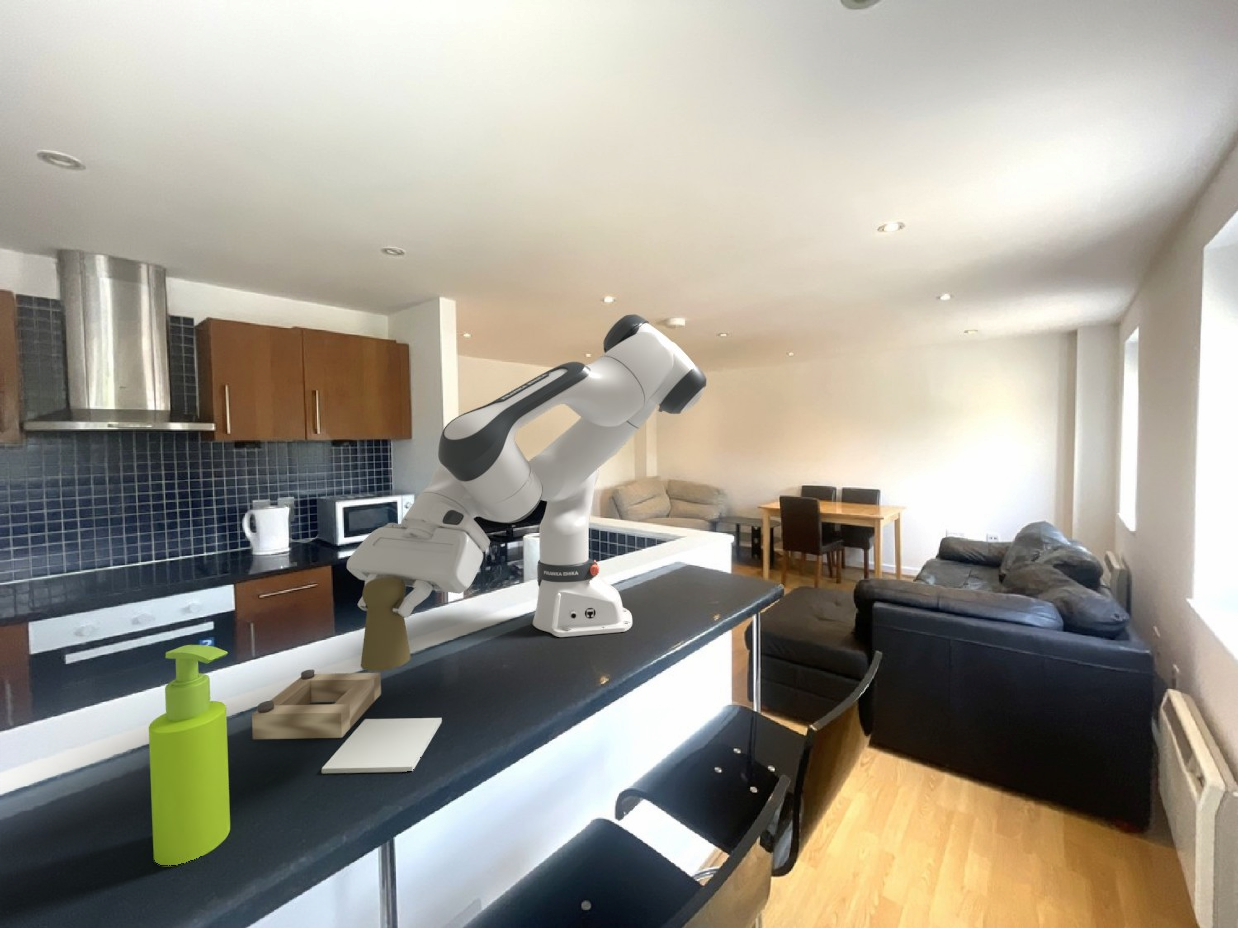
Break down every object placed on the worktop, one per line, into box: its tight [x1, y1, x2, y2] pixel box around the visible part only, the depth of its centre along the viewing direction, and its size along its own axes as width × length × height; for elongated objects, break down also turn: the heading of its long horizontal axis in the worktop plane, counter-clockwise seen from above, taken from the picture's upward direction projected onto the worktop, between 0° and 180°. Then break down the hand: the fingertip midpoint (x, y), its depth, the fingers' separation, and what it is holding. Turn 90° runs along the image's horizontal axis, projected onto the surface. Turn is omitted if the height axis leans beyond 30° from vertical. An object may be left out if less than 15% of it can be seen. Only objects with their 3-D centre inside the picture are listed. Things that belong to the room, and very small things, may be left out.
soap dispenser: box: [148, 644, 231, 867], centre depth 50 cm, size 6×7×20 cm
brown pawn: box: [360, 577, 411, 672], centre depth 66 cm, size 6×6×11 cm
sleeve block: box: [251, 669, 382, 740], centre depth 74 cm, size 12×12×4 cm
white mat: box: [321, 717, 443, 774], centre depth 67 cm, size 11×11×1 cm
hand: (381, 611), depth 65 cm, fingers closed on brown pawn, 5 cm apart
